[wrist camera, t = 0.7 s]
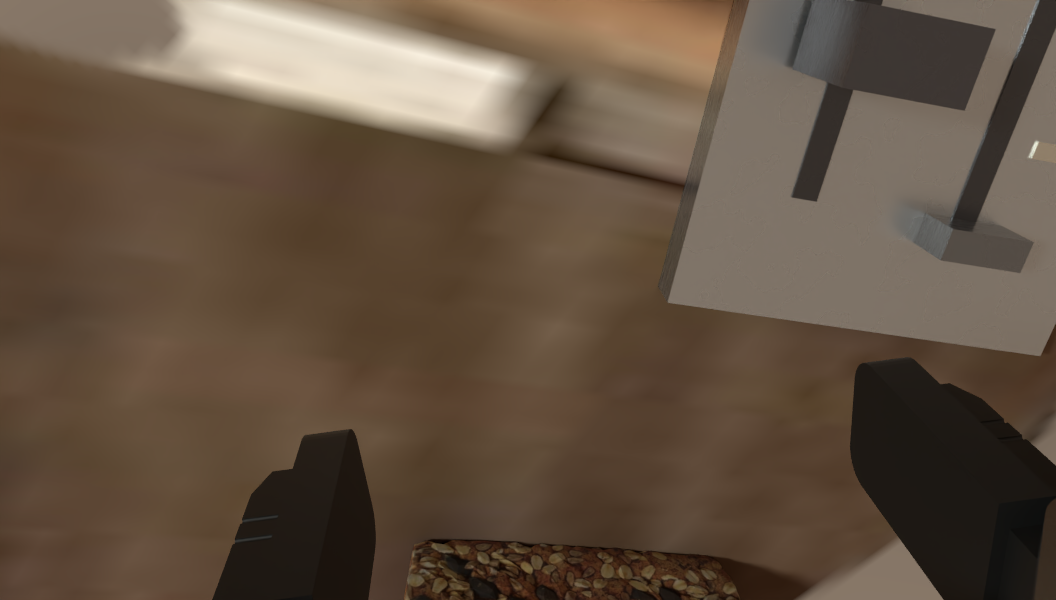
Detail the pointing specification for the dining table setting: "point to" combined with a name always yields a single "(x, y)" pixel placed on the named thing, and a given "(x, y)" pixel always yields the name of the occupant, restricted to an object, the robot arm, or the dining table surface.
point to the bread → (560, 573)
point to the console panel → (878, 171)
